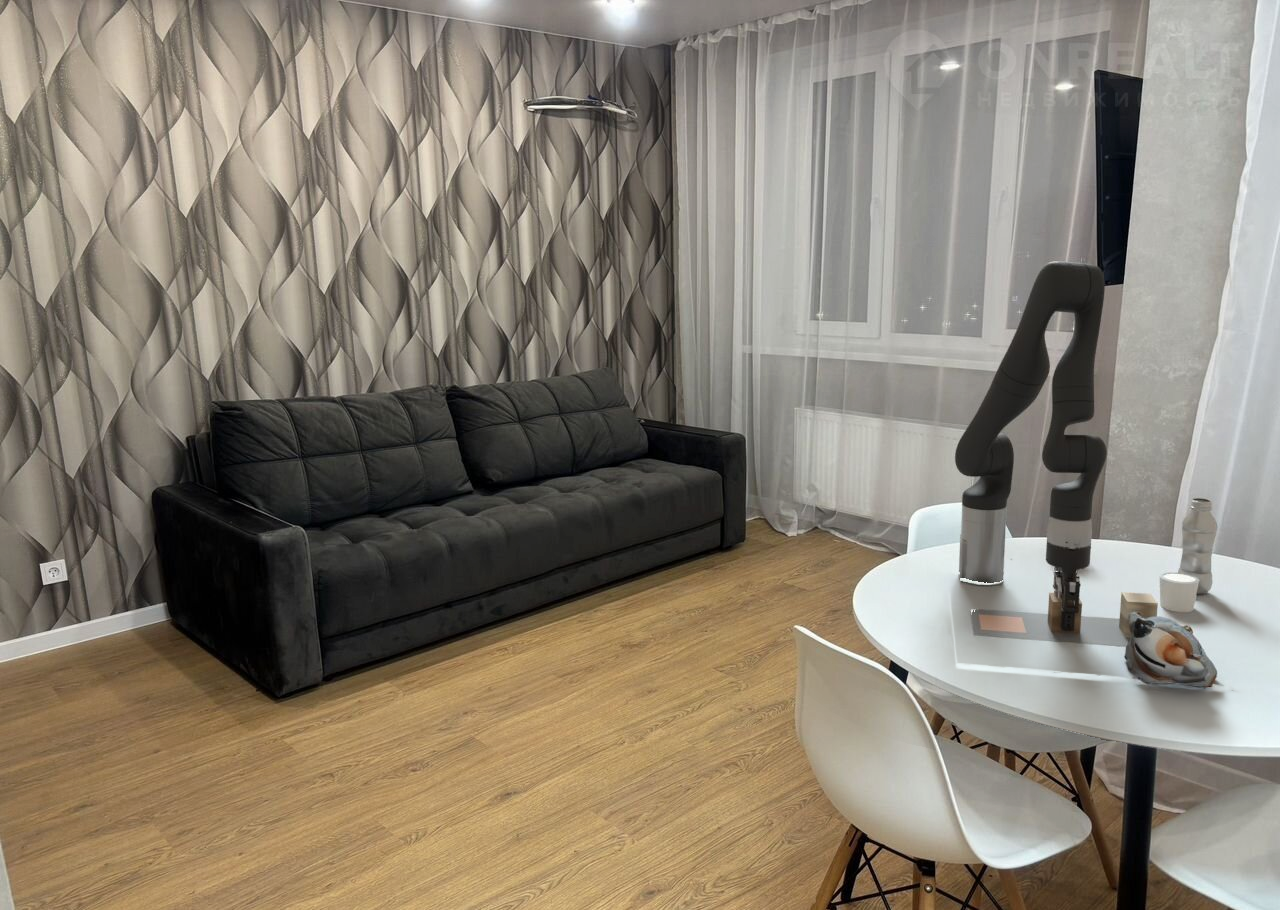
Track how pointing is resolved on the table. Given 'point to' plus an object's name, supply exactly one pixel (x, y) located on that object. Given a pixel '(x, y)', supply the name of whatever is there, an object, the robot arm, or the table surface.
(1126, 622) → the pale birch block
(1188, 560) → the plastic bottle
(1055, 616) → the walnut block
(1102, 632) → the board
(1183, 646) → the lucky cat figurine
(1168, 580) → the white cylinder
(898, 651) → the table surface
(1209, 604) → the table surface
